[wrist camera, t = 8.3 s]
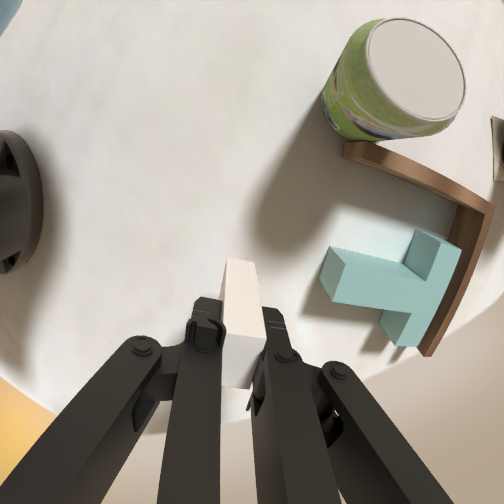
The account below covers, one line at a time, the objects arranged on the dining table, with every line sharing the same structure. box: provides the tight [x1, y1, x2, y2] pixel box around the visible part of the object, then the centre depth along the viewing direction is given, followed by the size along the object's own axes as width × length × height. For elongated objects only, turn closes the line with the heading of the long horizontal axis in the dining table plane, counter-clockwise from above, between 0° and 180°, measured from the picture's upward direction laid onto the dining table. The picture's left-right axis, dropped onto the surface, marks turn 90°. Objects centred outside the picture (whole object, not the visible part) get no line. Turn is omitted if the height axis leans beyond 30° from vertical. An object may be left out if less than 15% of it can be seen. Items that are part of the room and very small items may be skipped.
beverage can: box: [321, 17, 466, 142], centre depth 13 cm, size 6×7×12 cm
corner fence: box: [342, 141, 495, 357], centre depth 21 cm, size 15×16×4 cm
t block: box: [319, 229, 462, 347], centre depth 21 cm, size 11×10×4 cm
